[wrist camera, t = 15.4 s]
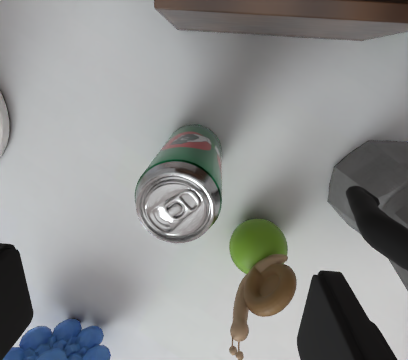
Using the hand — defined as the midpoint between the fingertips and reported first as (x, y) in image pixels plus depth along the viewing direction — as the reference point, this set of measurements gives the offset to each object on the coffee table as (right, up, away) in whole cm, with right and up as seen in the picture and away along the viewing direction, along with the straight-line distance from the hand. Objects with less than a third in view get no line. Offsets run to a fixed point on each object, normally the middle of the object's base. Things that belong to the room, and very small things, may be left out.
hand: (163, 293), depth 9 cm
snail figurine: (+6, -2, +20) cm, 21 cm away
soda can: (0, +6, +17) cm, 19 cm away
